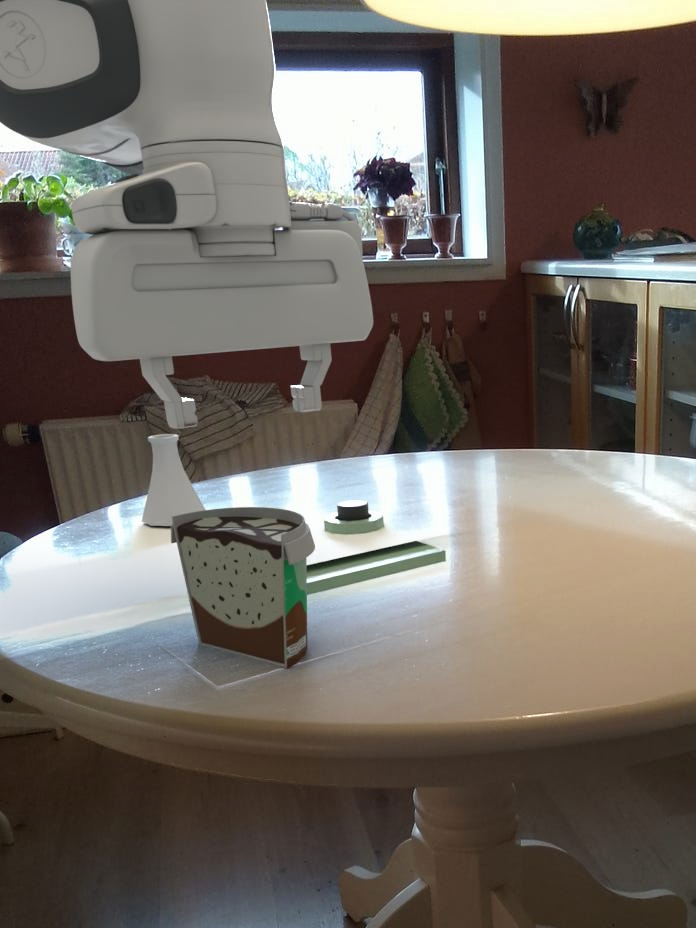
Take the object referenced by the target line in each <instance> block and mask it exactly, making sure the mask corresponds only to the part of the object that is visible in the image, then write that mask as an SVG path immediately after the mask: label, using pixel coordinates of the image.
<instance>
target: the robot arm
mask: <svg viewBox="0 0 696 928" xmlns="http://www.w3.org/2000/svg"><path fill="white" fill-rule="evenodd" d="M272 37H273V36H272V30H271V23H270V16H269V10H268V4H267V0H0V124H2V125H3V126H5V127H6V128H8V129H9V130H11V131H12V132H14V133H16V134H18V135H21V136H22V137H24V138H26V139H29V140H31V141H33V142H35V143H37V144H41V145H44V146H46V147H50V148H52V149H53V148H54V149H57V150H61V151H63V152H66V153H69V154H72V155H75V156H79V157H83V158H87V159H90V160H94V161H97V162H99V163H101V164H104V165H105V166H108V167H110V168H112V169H114V170H117V171H118V172H121V173H123V174H127V175H125V176H122V177H120V178H118V179H116V180H115V182H114V183H111V184H109V185H105V186H101V187H99V188H96V189H93V190H91V191H88V192H86V193H84V194H82V195H80V196H78V197H76V198H75V199H74V200H73V201H72V203H71V214H72V219H73V223H74V225H75V228H76V229H77V230H78V232H80V233H81V234H84V235H88V236H86V237H84V238H83V239H81V240H80V241H79V242H78V243H77V245H76V246H75V248H74V250H73V252H72V256H71V260H70V290H71V303H72V313H73V322H74V326H75V332H76V337H77V341H78V344H79V346H80V347H81V349H83V351H84V352H85V353H86V354H88V356H89V357H91V358H92V359H93V360H94V361H95V360H96V361H102V362H117V361H119V362H120V361H131V360H139V363H140V369H141V376H142V377H143V378H144V379H145V381H146V382H147V383H148V385H149V386H150V387H151V389H152V390H153V391H154V392H155V394H156V395H157V396H158V397H159V399H160V400H161V401H163V404H164V410H165V411H164V412H165V417H166V422H167V425H168V427H169V428H171V429H175V430H178V429H185V428H192V427H197V426H198V423H199V420H198V415H196V414H195V413H196V411H197V406H196V399H193V398H187V397H182V396H181V395H180V394H179V392H178V390H177V389H176V388H175V387H174V385H173V384H172V382H171V381H170V379H169V378H168V377H167V376H170V375H171V376H172V375H174V374H175V370H174V369H175V368H174V362H173V357H179V356H180V357H181V356H190V355H202V354H203V355H204V354H216V353H227V352H239V351H241V352H242V351H250V350H263V349H264V350H265V349H275V348H276V349H277V348H287V347H299V355H300V359H301V361H307V363H306V365H305V369H304V372H303V375H302V377H301V380H300V383H299V384H297V385H290V394H291V397H292V398H293V399H292V402H291V403H292V408H293V410H294V411H295V412H298V413H309V412H316V411H317V412H318V411H321V410H322V406H323V403H322V392H321V386H322V385H323V382H324V380H325V377H326V376H327V372H328V370H329V368H330V365H331V363H332V360H333V358H332V347H331V344H336V343H348V342H359V341H360V342H361V341H366V339H367V338H368V337H369V335H370V333H371V331H372V328H373V326H374V313H373V305H372V298H371V293H370V287H369V281H368V277H367V273H366V269H365V264H364V263H365V262H364V261H363V255H364V254H363V253H364V251H363V237H362V230H361V226H360V224H359V222H357V220H356V219H355V217H354V216H353V215H352V214H350V213H349V212H348V211H346V210H344V209H343V207H342V206H341V205H340V204H337V203H333V202H325V203H321V204H315V203H308V202H292V201H290V197H289V187H288V178H287V177H288V176H287V169H286V160H285V158H286V157H285V150H284V149H285V148H284V141H283V138H282V135H281V133H280V130H279V127H278V124H277V120H276V117H275V113H274V104H273V102H274V101H273V99H274V98H273V93H274V86H275V79H276V63H275V55H274V54H275V52H274V45H273V38H272ZM343 218H344V219H346V220H342V219H343Z"/></svg>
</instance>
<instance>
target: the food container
mask: <svg viewBox="0 0 696 928" xmlns="http://www.w3.org/2000/svg"><path fill="white" fill-rule="evenodd" d="M172 523H173V524H172V525H171V526H170V543H171V544H174V543H176V546H177V550H178V555H179V559H180V560H179V561H180V564H181V568H182V569H181V570H182V573H183V578H184V582H185V586H186V591H187V596H188V601H189V605H190V610H191V614H192V618H193V623H194V628H195V633H196V637H197V642H198V645H201V646H205V647H209V648H212V649H216V650H220V651H224V652H226V653H231V654H235V655H237V656H238V655H239V656H242V657H245V658H249V659H252V660H257V661H260V662H264V663H268V664H272V665H275V666H279V667H281V669H287V670H288V669H290V668H292V667H294V666H295V665H297V664H298V662H299V661H300V660H301V659H303V658H304V656H305V655H306V654H307V651H308V595H307V568H306V565H307V558H308V557H309V556H311V555H312V554H313V553H314V551H315V550H316V544H315V541H314V538H313V535H312V531H311V528H310V526H309V524H308V523H306V519H305V517H304V516H303V515H302V514H301V513H298V512H296V511H294V510H290V509H284V508H277V507H266V506H265V507H264V506H239V507H224V508H223V507H222V508H212V509H205V510H203V511H197V512H191V513H186V514H181V515H177V516H172Z"/></svg>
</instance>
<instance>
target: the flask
mask: <svg viewBox="0 0 696 928" xmlns="http://www.w3.org/2000/svg"><path fill="white" fill-rule="evenodd" d="M179 437H180V436H179V435H178V434H175V433H162V434H154V435H150V436H148V437H147V441H148V443H150V445H151V451H152V470H151V476H150V480H149V481H150V482H149V487H148V490H147V496H146V500H145V504H144V509H143V513H142V516H141V517H142V518H141V523H144V524H147V525H149V526H152V527H157V526H158V527H171V525H172V524H173V523H172V516H177V515H181V514H186V513H191V512H197V511H203V510H206V508H205V506H204V504H203V502H202V500H201V499H200V497H199V495H198V494H197V492H196V490H195V488H194V486H193V484H192V482H191V480H190V478H189V476H188V474H187V472H186V471H185V469H184V466H183V463H182V460H181V457H180V454H179V449H178V441H179V440H180V439H179Z"/></svg>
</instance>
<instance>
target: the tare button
mask: <svg viewBox="0 0 696 928" xmlns="http://www.w3.org/2000/svg"><path fill="white" fill-rule="evenodd" d="M369 510H370V509H369V502H368V501H366V500H361V499H352V500H351V499H349V500H344V501H339V502H338V503H336V512H338V520H340V521H359V520H364V519H368V518H369Z"/></svg>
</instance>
